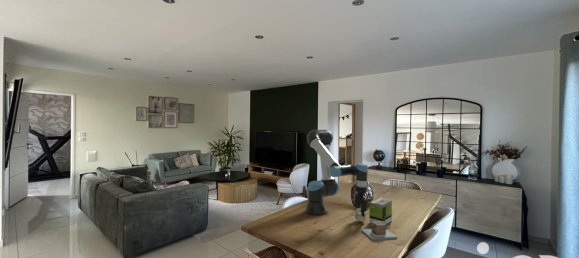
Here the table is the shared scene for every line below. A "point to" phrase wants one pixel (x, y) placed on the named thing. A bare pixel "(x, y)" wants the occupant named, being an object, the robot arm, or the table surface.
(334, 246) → the table surface
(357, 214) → the oak cube
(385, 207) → the tea box
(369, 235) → the board
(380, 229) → the walnut cube
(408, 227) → the table surface
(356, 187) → the robot arm
